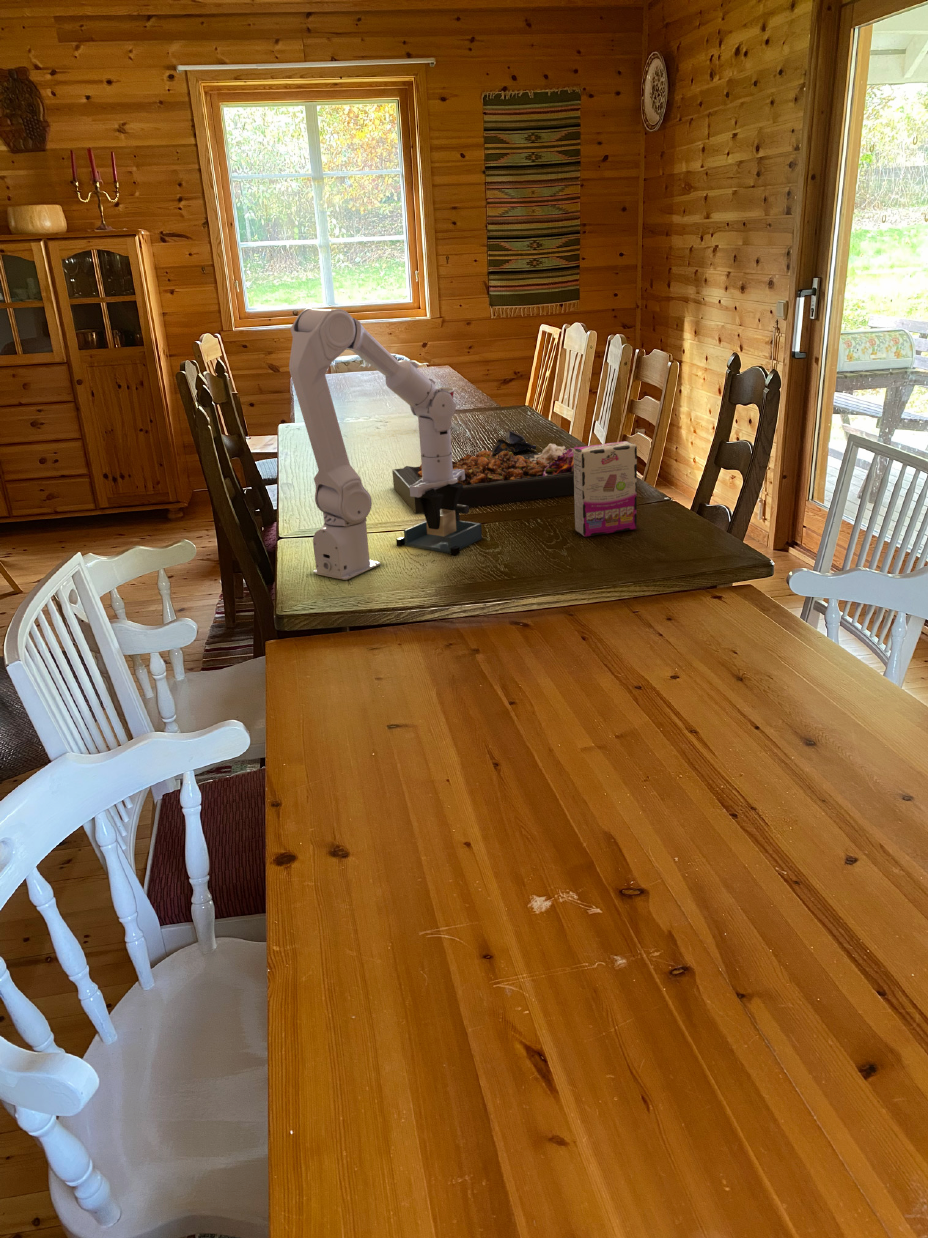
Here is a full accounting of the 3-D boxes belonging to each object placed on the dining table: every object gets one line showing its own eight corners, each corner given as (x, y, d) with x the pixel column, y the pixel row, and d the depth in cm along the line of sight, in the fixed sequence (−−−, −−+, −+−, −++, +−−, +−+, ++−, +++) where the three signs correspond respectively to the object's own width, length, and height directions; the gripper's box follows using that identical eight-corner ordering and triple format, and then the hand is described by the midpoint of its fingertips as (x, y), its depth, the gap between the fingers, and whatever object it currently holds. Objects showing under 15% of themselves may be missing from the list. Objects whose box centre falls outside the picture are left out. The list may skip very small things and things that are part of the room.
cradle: (455, 556, 167) (454, 548, 166) (396, 545, 174) (396, 538, 174) (460, 553, 168) (459, 546, 167) (401, 543, 176) (401, 536, 175)
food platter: (571, 467, 227) (571, 425, 223) (611, 489, 205) (612, 443, 201) (393, 487, 217) (390, 444, 213) (415, 513, 195) (412, 465, 191)
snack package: (496, 448, 254) (487, 456, 243) (499, 425, 251) (490, 432, 241) (538, 455, 252) (531, 463, 241) (542, 432, 249) (534, 439, 238)
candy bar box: (625, 523, 180) (627, 439, 174) (637, 529, 176) (638, 444, 169) (573, 530, 177) (572, 446, 171) (583, 537, 173) (582, 451, 167)
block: (444, 536, 171) (442, 515, 170) (427, 533, 173) (425, 513, 172) (456, 530, 174) (455, 510, 173) (439, 528, 176) (438, 508, 175)
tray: (451, 553, 168) (449, 520, 166) (404, 545, 174) (402, 513, 172) (483, 538, 176) (482, 506, 174) (437, 531, 182) (435, 500, 180)
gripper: (429, 464, 160) (434, 538, 166) (476, 447, 171) (480, 517, 176) (398, 460, 164) (404, 533, 169) (446, 445, 175) (450, 513, 180)
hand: (441, 525), depth 173 cm, fingers closed on block, 4 cm apart
